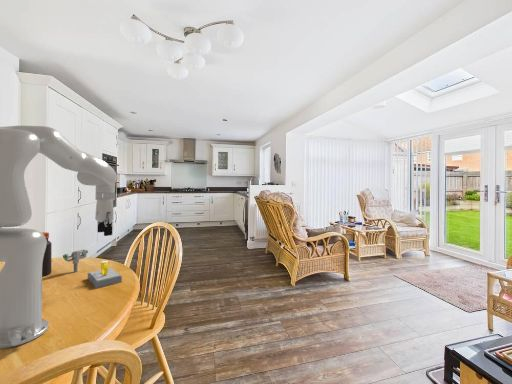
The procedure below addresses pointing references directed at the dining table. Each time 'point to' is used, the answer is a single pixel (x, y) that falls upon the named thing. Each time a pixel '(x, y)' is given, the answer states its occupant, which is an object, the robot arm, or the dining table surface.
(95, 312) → the dining table surface
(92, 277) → the stand
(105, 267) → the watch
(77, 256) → the mechanical component
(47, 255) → the bottle
